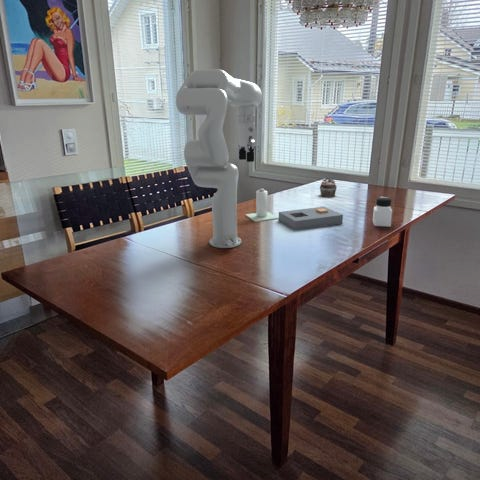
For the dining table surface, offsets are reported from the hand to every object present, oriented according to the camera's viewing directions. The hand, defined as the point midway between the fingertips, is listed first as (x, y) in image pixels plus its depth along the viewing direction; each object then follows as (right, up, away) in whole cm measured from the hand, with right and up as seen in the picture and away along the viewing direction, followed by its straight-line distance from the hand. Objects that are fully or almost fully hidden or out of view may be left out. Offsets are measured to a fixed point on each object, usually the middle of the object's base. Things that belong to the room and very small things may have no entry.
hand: (246, 160), depth 178 cm
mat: (+8, -24, +17) cm, 30 cm away
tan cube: (+35, -25, +10) cm, 44 cm away
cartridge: (+8, -23, +17) cm, 30 cm away
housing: (+29, -26, +9) cm, 40 cm away
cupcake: (+48, -9, +58) cm, 76 cm away
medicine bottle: (+60, -28, +3) cm, 66 cm away
